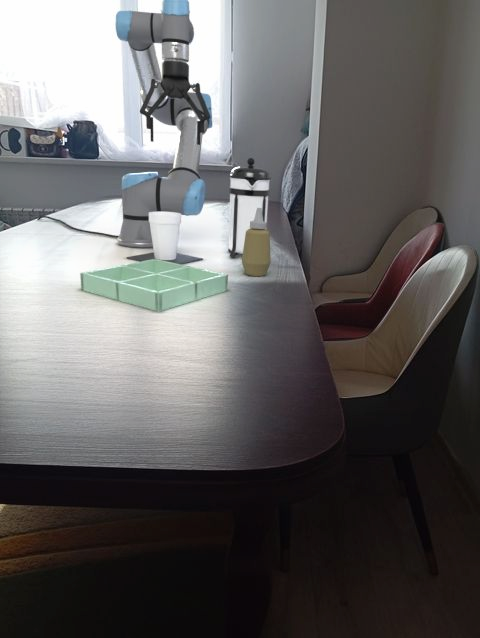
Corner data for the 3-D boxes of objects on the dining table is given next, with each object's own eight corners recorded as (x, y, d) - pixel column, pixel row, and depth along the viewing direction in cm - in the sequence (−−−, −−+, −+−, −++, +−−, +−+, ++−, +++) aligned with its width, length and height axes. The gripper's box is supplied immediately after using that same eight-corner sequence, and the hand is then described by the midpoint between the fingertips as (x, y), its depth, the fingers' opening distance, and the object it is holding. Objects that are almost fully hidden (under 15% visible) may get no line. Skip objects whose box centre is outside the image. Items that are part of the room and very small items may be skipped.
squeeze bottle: (248, 278, 138) (252, 209, 132) (236, 271, 145) (239, 206, 139) (274, 276, 142) (279, 210, 136) (261, 270, 149) (265, 206, 142)
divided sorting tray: (81, 290, 118) (80, 272, 116) (154, 273, 137) (154, 258, 135) (158, 311, 106) (158, 293, 105) (227, 290, 125) (228, 274, 124)
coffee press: (280, 256, 169) (287, 160, 158) (246, 262, 158) (251, 158, 147) (243, 248, 180) (247, 157, 169) (209, 252, 169) (211, 155, 158)
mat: (126, 258, 152) (126, 257, 152) (163, 251, 165) (164, 250, 165) (167, 267, 145) (167, 266, 145) (202, 259, 157) (202, 258, 157)
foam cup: (184, 256, 159) (184, 213, 154) (176, 262, 150) (176, 216, 145) (154, 253, 159) (153, 210, 155) (145, 259, 151) (144, 214, 146)
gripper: (129, 55, 138) (131, 140, 146) (221, 64, 144) (219, 146, 151) (130, 59, 145) (132, 140, 153) (217, 68, 151) (215, 145, 158)
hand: (175, 143), depth 152 cm, fingers open, 13 cm apart
